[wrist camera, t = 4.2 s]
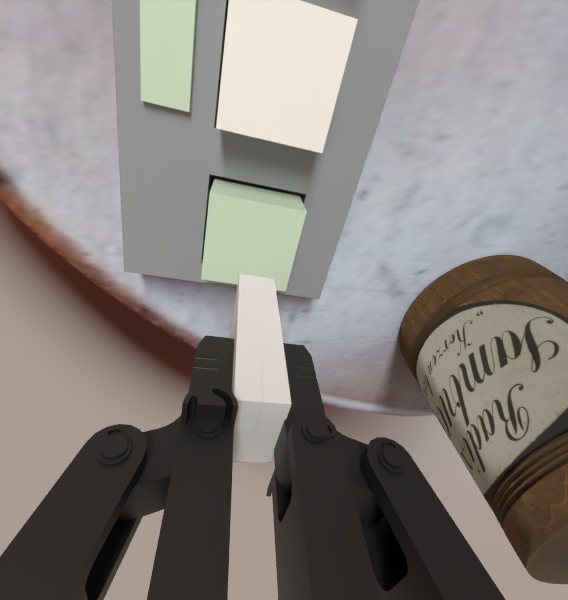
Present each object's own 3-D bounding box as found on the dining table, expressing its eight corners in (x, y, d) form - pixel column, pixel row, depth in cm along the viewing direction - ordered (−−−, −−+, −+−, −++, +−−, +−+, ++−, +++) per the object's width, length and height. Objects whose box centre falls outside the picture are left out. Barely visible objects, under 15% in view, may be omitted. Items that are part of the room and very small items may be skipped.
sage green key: (214, 178, 20) (209, 192, 17) (299, 196, 21) (306, 211, 18) (206, 257, 23) (201, 279, 20) (281, 269, 24) (285, 291, 21)
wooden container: (430, 246, 27) (822, 596, 8) (583, 259, 29) (1160, 561, 11) (379, 373, 35) (523, 694, 16) (502, 376, 37) (750, 663, 19)
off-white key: (233, -5, 15) (231, -23, 13) (341, 29, 16) (357, 19, 14) (220, 122, 18) (216, 128, 16) (312, 144, 19) (322, 153, 17)
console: (122, -438, 11) (78, -619, 8) (475, -246, 14) (534, -332, 11) (136, 252, 25) (122, 274, 22) (312, 279, 27) (319, 302, 24)
